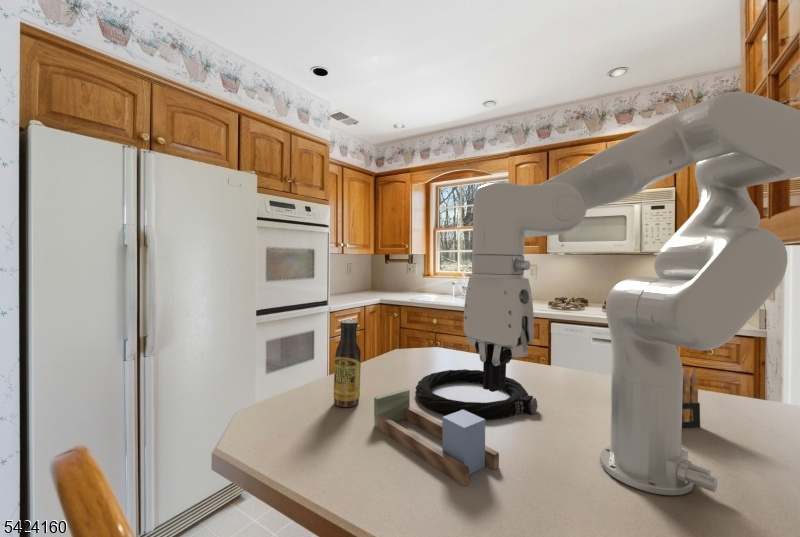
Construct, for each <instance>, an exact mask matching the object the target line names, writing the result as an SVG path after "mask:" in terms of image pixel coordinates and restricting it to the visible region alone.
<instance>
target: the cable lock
mask: <svg viewBox="0 0 800 537" xmlns="http://www.w3.org/2000/svg"><path fill="white" fill-rule="evenodd" d="M451 383H454V384H455V383H470V384H471V383H475V384H476V383H477V384H480V385H481V384H482V385H483V370H478V369H475V370H474V369H473V370H472V369H466V368H465V369H464V368H463V369H448V370H444V371H443V370H442V371H438V372H432V373H430V374H427V375H425V376H423V377H422V378H421V379H420V380H419V381H418V382H417V384H416V385H415V390H416V391H415V392H414V393H415V396H416V399H417V400H418V401H419V402H420V403H421V404H422V405H423V406H424V407H425V408H428V409H430V410H433V411H435V412H436V413H438V414H442V415H445V416H446V415H449V414H452V413H455V412H458V411H460V410H465V411H467V412H470V413H472V414H474V415H476V416H479V417H481V418H483V419H485V420H495V419H502V418H507V417H510V416H512V415H513V416H519V415H522V414H525V415H530V413H531V415H536V413H537V410H538V407H539V406H538V400H537V397H534V395H529V393H528V392H527V390H526V389H525V388H524V386H522V384H521V383H520V382H518V381H516V380H515V379H514V378H510V377H508V376H506V383H505V387H504V389H502V390H505V391H506V392H508V394H509V395H511V396H509V397H508V398H506V399H502V400H495V401H489V402H481V401H480V402H479V401H478V402H477V401H461V400H455V399H449V398H446V397H443V396H440V395H438V394H435V393H434V392H432V391H431V390H432V389H433V388H436V387H437V386H441V385H445V384H451Z"/></svg>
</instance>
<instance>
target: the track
mask: <svg viewBox="0 0 800 537" xmlns="http://www.w3.org/2000/svg"><path fill="white" fill-rule="evenodd" d="M410 395H411V394H410V389H408V388H403V389H400V390H397V391H391V392H389V393H385V394H382V395H379V396H375V397H374V398H373V400H374V401H373V403H374V404H373V406H374V407H373V408H374V409H373V410H374V412H373V415H374V418H373V419H374V420H373V423H374V427H376V429H379V431H381V432H382V433H384V434H385V435H387V436H388V437H390V438H392V439H393V440H395V442H397V443H399V444H401V445H402V446H404V447H405V448H407V449H408V450H409V451H411V452H412V453H414V454H415V455H417V456H418V457H420V458H421V459H423V460H424V461H425V462H427V463H428V464H430V465H431V466H433V467H434V468H436V469H437V470H438V471H440V472H442V473H444V475H446V476H447V477H449V478H451V479H453V481H455V482H456V483H458V484H460V485H461V486H462V487H465V486H467V485H469V484H470V475H469V467H467V466H466V465H464V464H463V463H461V462H459V461H458V460H456V459H454V458H453V457H451V456H449V455H448V454H446V453H445V452H443V451H442V449H440V448H438V447H436V446H435V445H434V444H432V443H430V442H429V441H426V440H424V438H421V437H420V436H418V435H416V434H415V433H413V432H412V431H410V430H409V429H407V428H405V427H404V426H402V425H401V424H398V423H397V422H400V421H402V420H406V421H409V422H410V423H412V424H413V425H415V426H417V427H419V429H420V428H421V429H422V430H424V431H426V432H427V433H429V434H431V435H433V436H434V437H437V438H438V439H440V440H441V441H442V422H441V421H439V420H438V419H436V418H434V417H431V416H430V415H427V414H426V413H424V412H422V411H420V410H418V409H417V408H414V407H413V406H412V407H411V406H410V405H411V403H410ZM485 466H487V467H488V468H490V469H492V470H497V469H498V468H500V452H498V451H497V450H495V449H493V448H491V447H489V446H487V445H485Z"/></svg>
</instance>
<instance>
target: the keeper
mask: <svg viewBox="0 0 800 537" xmlns="http://www.w3.org/2000/svg"><path fill="white" fill-rule="evenodd" d="M441 423H442V440H441V441H442V447H441V448H442V449H441V451H443V452H445V453H446V454H448V455H449V456H451V457H453V458H454V459H456V460H458V461H459V462H461V463H463V464H464V465H466V466H467V467H469V476H470V475H472V474H474V473H476V472H478V471H480V470H481V469H484V468H486V465H485V446H486V419H483V418H481V417H479V416H476V415H474V414H472V413H470V412H467V411H465V410H460V411H458V412H455V413H452V414H449V415H446V414H445V415H444V416H442V422H441Z"/></svg>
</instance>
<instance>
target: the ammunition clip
mask: <svg viewBox="0 0 800 537" xmlns="http://www.w3.org/2000/svg"><path fill="white" fill-rule="evenodd" d="M697 377H698V376H697V372H696V369H695V368H692V369H691V371H690V373H689V372H688V369H687V368H683V391H682V429H695V428H697V429H700V428H701V403H700V402H699V388H698V378H697Z"/></svg>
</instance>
